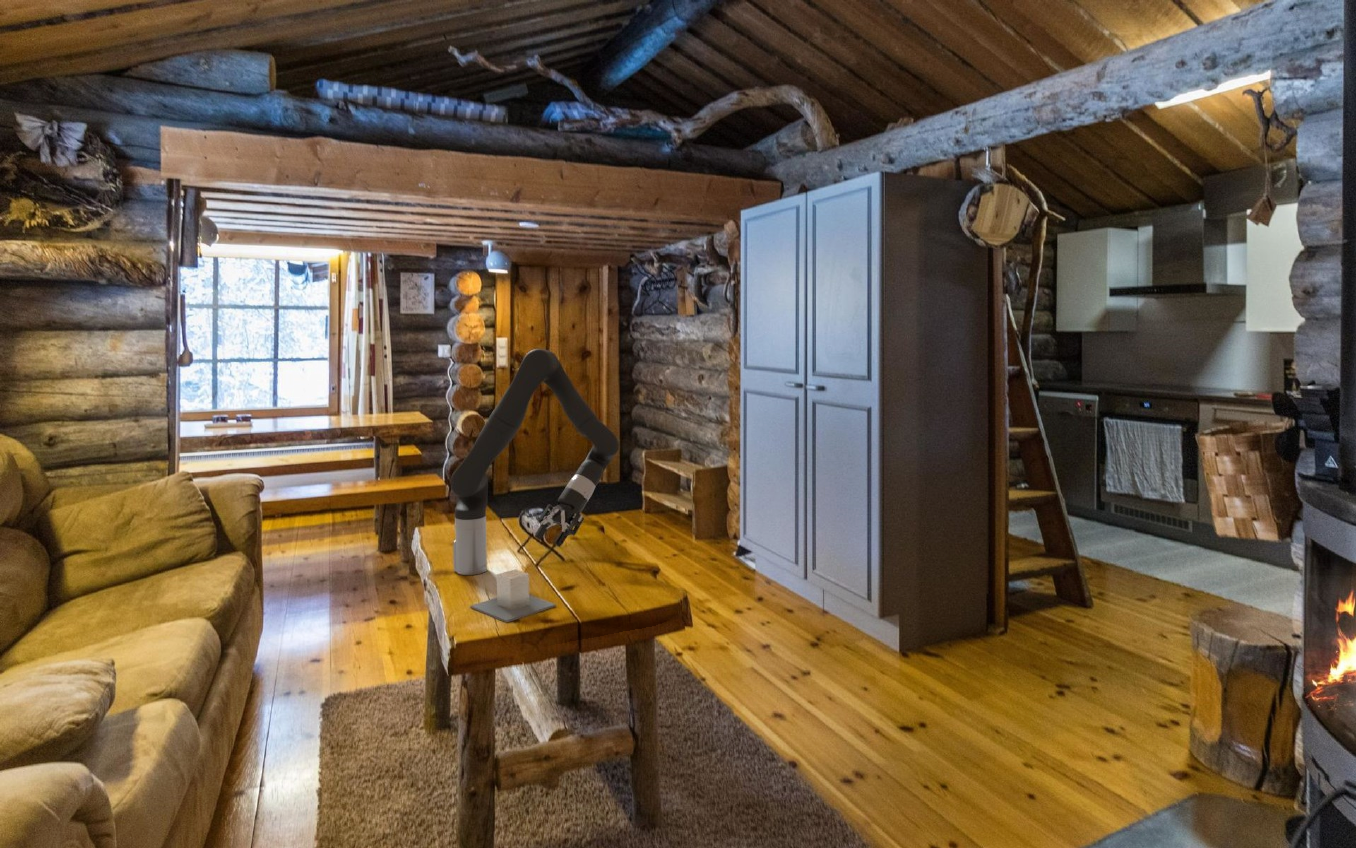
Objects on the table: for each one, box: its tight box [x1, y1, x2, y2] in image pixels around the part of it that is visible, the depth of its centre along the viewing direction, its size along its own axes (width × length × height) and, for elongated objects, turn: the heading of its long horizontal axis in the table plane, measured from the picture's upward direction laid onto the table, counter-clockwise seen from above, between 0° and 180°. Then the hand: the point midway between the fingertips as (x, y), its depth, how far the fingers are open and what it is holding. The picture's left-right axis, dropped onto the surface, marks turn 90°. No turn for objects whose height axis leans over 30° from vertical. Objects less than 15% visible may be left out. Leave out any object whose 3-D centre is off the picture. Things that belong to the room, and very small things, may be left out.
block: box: [496, 569, 530, 610], centre depth 205 cm, size 6×6×8 cm
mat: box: [470, 594, 557, 624], centre depth 206 cm, size 16×16×3 cm
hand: (546, 541), depth 214 cm, fingers open, 8 cm apart
